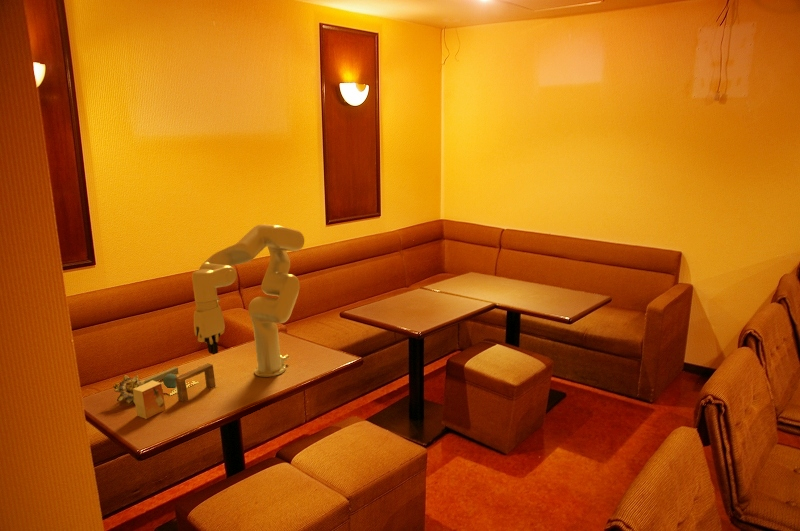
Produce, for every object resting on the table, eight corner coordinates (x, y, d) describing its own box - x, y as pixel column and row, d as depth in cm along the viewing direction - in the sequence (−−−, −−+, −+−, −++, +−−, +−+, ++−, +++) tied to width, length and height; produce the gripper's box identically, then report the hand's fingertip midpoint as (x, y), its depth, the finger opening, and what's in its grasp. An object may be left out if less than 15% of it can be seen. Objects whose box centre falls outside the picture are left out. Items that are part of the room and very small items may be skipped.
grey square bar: (175, 372, 234) (174, 366, 233) (178, 373, 233) (177, 367, 232) (140, 387, 221) (139, 381, 220) (143, 388, 220) (142, 382, 219)
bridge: (178, 400, 209) (175, 377, 206) (210, 384, 220) (207, 363, 218) (183, 402, 207) (180, 379, 205) (215, 386, 219) (212, 364, 216)
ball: (174, 369, 221) (182, 377, 219) (170, 379, 224) (179, 388, 221) (162, 373, 217) (170, 381, 215) (158, 384, 219) (167, 392, 217)
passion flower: (137, 416, 209) (118, 401, 201) (121, 404, 215) (101, 389, 206) (159, 391, 215) (141, 376, 206) (142, 380, 220) (124, 365, 211)
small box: (146, 419, 196) (141, 392, 193) (136, 416, 198) (131, 388, 196) (166, 409, 202) (162, 382, 200) (156, 406, 205) (152, 379, 202)
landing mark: (179, 375, 230) (179, 375, 230) (199, 382, 223) (199, 382, 223) (150, 388, 220) (150, 388, 220) (170, 395, 213) (170, 395, 212)
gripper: (217, 297, 206) (223, 344, 210) (182, 309, 194) (189, 358, 198) (231, 300, 202) (236, 347, 206) (195, 312, 189) (202, 362, 194)
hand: (213, 352), depth 202 cm, fingers closed
